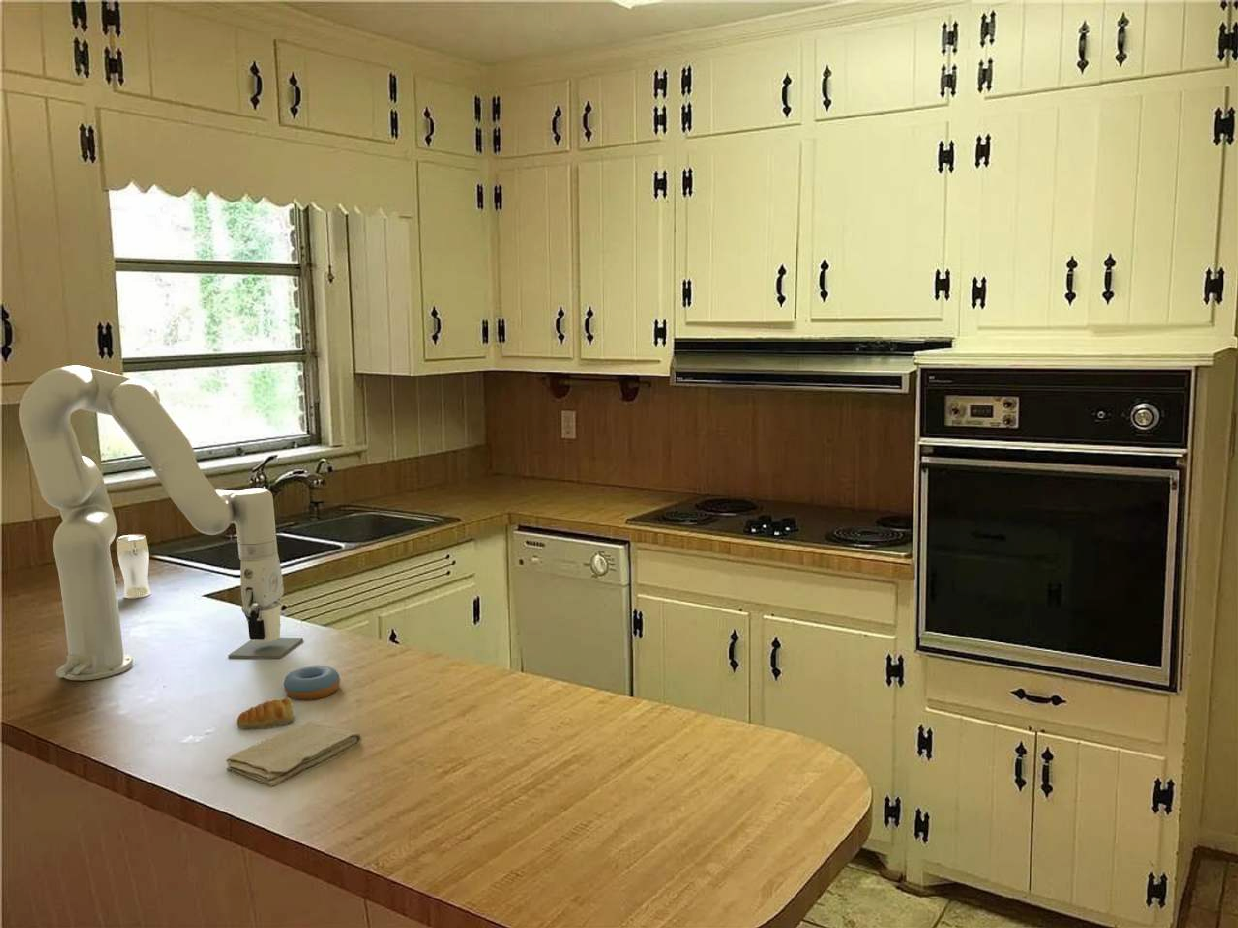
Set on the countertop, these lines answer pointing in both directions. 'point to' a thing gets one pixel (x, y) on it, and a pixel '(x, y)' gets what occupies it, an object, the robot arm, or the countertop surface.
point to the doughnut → (311, 682)
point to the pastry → (267, 715)
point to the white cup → (270, 622)
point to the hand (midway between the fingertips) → (265, 632)
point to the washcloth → (291, 753)
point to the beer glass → (134, 565)
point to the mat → (266, 648)
